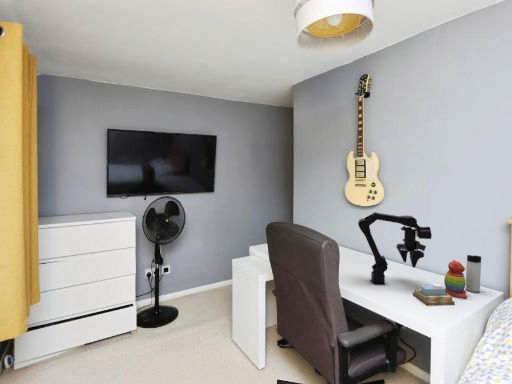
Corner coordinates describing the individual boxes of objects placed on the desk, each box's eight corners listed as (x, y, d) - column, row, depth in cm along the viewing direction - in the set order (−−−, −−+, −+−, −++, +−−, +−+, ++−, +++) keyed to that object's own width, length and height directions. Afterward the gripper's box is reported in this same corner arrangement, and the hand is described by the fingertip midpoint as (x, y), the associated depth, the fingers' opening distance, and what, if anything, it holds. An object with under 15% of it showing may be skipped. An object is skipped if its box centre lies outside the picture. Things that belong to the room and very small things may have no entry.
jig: (426, 305, 144) (426, 298, 143) (412, 295, 156) (413, 288, 155) (454, 304, 144) (454, 297, 144) (438, 294, 156) (438, 287, 156)
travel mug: (467, 292, 158) (469, 256, 156) (464, 287, 164) (465, 252, 162) (481, 294, 155) (483, 257, 154) (477, 289, 161) (479, 253, 160)
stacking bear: (467, 299, 149) (469, 265, 147) (444, 295, 154) (445, 262, 153) (465, 292, 158) (467, 260, 157) (443, 288, 163) (444, 257, 162)
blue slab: (425, 298, 148) (425, 287, 147) (420, 295, 152) (421, 283, 151) (444, 298, 148) (445, 286, 147) (439, 295, 152) (440, 283, 151)
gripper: (434, 241, 157) (433, 270, 159) (414, 234, 176) (413, 259, 177) (413, 242, 157) (413, 270, 158) (396, 234, 176) (395, 259, 177)
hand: (409, 264), depth 168 cm, fingers open, 9 cm apart
